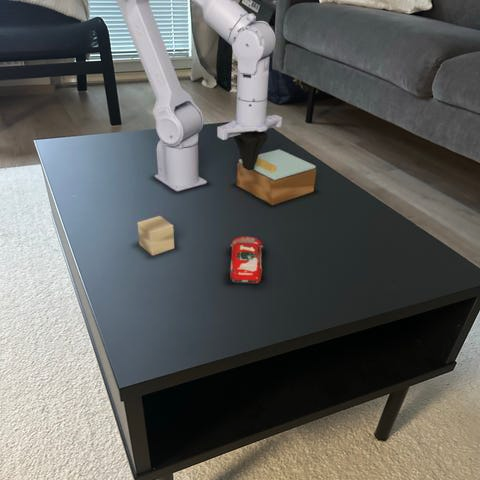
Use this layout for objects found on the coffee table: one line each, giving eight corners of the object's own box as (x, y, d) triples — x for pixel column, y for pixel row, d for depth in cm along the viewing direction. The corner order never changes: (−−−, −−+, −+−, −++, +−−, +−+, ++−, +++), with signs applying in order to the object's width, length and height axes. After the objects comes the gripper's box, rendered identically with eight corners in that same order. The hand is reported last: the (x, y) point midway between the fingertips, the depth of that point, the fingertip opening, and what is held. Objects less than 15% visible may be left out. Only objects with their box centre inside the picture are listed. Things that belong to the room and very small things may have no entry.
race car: (232, 245, 90) (232, 225, 88) (262, 247, 90) (263, 227, 88) (226, 286, 80) (227, 265, 77) (260, 288, 80) (262, 267, 77)
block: (139, 245, 89) (137, 222, 86) (161, 237, 91) (159, 215, 88) (152, 255, 86) (150, 232, 83) (174, 248, 88) (173, 225, 86)
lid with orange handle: (238, 161, 107) (239, 154, 106) (279, 151, 113) (279, 143, 112) (274, 180, 100) (275, 172, 99) (315, 168, 106) (316, 160, 105)
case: (236, 185, 111) (237, 163, 107) (277, 173, 117) (279, 152, 113) (272, 205, 103) (274, 182, 100) (313, 191, 109) (316, 169, 106)
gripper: (234, 109, 88) (232, 182, 96) (294, 97, 95) (288, 167, 103) (210, 99, 92) (210, 170, 100) (270, 88, 99) (265, 156, 107)
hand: (248, 168), depth 102 cm, fingers closed
